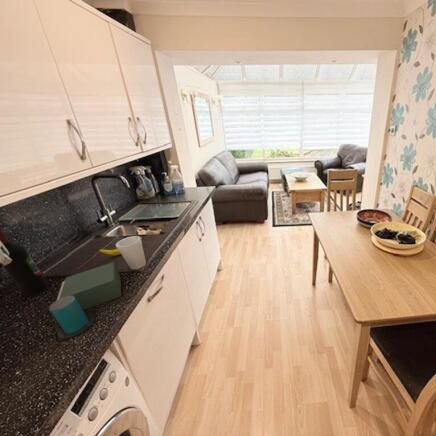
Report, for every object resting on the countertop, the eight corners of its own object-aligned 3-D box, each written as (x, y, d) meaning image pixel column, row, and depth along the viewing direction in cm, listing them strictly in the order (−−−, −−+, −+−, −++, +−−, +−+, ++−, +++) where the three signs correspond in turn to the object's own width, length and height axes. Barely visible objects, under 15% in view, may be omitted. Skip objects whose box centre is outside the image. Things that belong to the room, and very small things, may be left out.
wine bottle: (22, 292, 99) (-24, 228, 86) (46, 281, 104) (6, 220, 92) (26, 298, 95) (-22, 233, 82) (51, 287, 100) (9, 224, 87)
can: (62, 336, 76) (46, 313, 72) (66, 323, 81) (50, 301, 77) (87, 326, 79) (73, 303, 75) (89, 314, 84) (75, 292, 80)
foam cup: (145, 269, 107) (134, 245, 101) (123, 273, 106) (111, 248, 100) (152, 257, 116) (143, 234, 110) (132, 260, 114) (122, 237, 109)
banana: (145, 246, 126) (141, 235, 124) (103, 261, 116) (97, 250, 113) (144, 244, 128) (140, 234, 126) (102, 259, 118) (97, 248, 115)
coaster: (55, 344, 74) (54, 343, 74) (60, 323, 82) (60, 322, 82) (94, 328, 79) (93, 327, 79) (96, 309, 87) (95, 308, 87)
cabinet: (69, 315, 85) (58, 299, 82) (75, 292, 96) (65, 277, 93) (121, 295, 92) (113, 280, 89) (120, 276, 104) (113, 261, 100)
